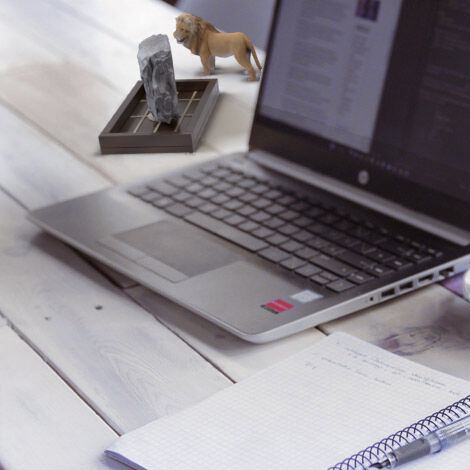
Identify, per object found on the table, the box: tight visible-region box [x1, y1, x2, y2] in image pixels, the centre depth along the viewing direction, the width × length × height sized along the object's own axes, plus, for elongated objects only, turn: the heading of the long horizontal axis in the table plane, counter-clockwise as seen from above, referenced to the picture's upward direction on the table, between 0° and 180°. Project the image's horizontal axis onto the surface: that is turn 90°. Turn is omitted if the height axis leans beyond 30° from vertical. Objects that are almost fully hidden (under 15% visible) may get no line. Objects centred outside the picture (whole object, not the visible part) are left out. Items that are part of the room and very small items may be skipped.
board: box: [97, 77, 221, 156], centre depth 121 cm, size 11×21×3 cm, turn 179°
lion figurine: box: [172, 13, 263, 82], centre depth 137 cm, size 15×5×9 cm, turn 72°
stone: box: [136, 33, 180, 124], centre depth 119 cm, size 15×5×10 cm, turn 9°
